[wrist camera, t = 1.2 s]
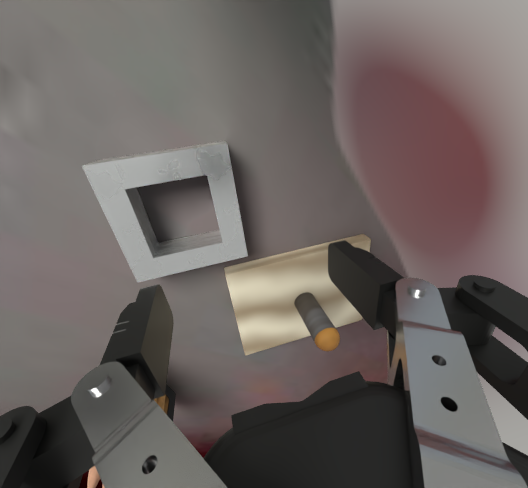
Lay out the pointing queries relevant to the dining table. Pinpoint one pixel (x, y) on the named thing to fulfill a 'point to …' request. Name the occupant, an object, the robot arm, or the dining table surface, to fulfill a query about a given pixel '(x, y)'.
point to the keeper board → (290, 298)
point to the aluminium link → (136, 219)
